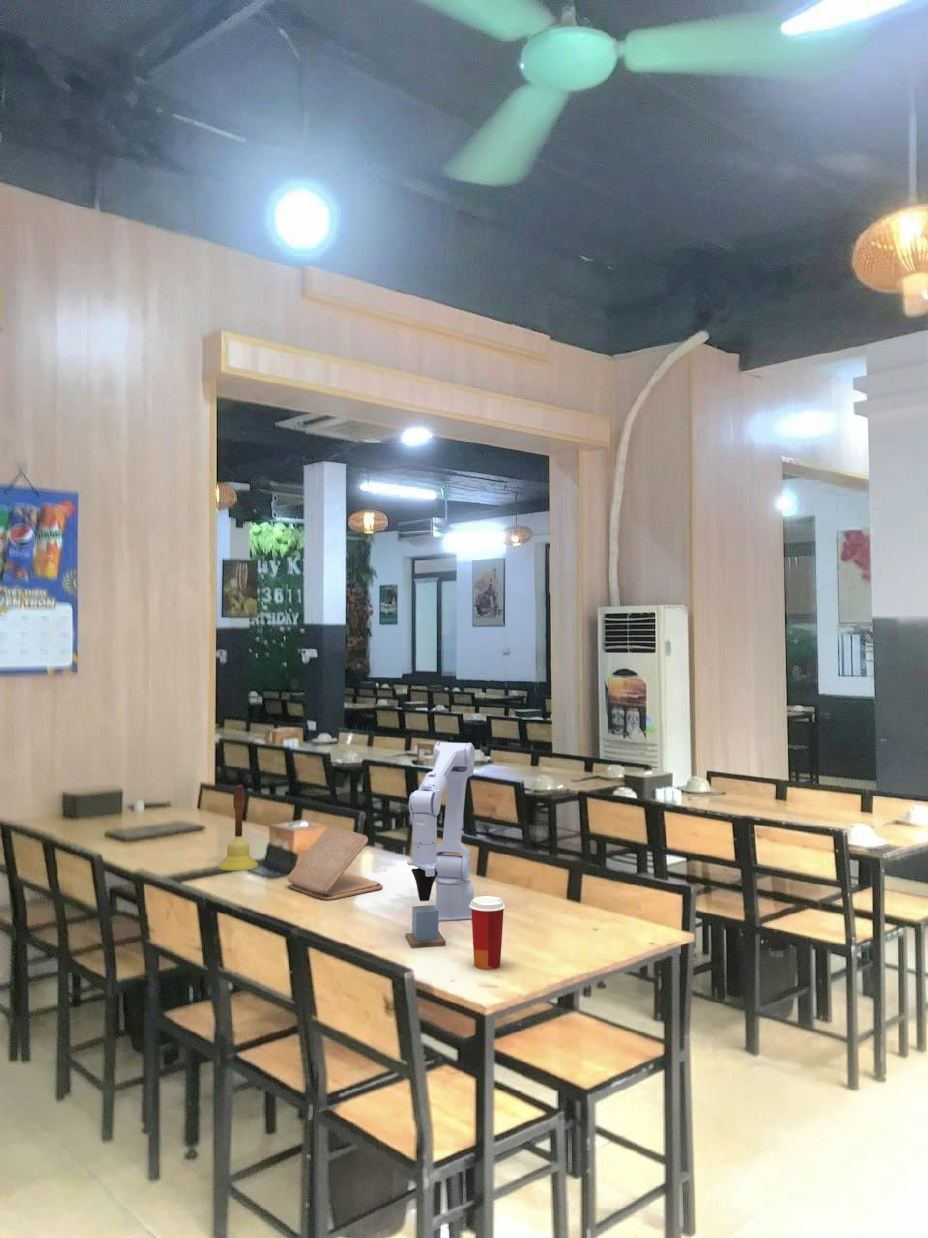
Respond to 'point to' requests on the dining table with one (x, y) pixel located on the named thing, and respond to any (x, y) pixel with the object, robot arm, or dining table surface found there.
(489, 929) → the paper cup
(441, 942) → the board
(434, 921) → the blue-grey block
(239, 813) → the handbell
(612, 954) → the dining table surface
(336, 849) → the case
